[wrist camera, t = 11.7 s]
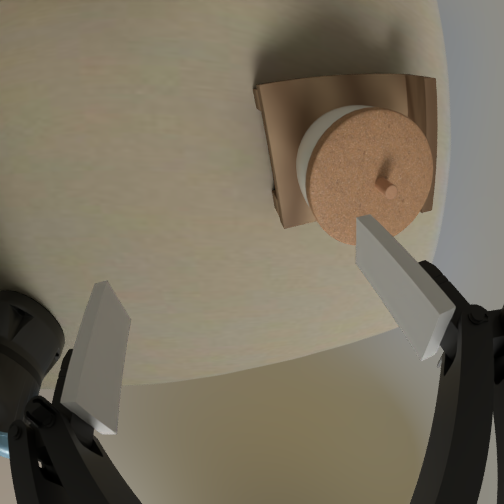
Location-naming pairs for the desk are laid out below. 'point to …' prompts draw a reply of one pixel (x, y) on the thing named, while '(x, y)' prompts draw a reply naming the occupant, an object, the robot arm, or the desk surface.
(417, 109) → the wooden stand
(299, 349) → the desk surface
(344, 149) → the lidded jar
